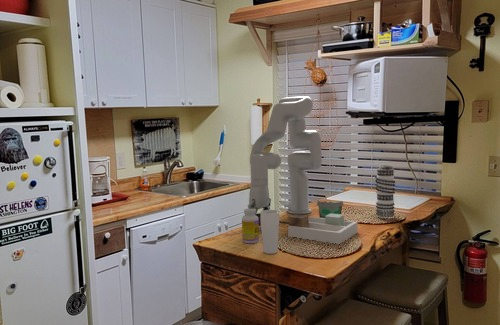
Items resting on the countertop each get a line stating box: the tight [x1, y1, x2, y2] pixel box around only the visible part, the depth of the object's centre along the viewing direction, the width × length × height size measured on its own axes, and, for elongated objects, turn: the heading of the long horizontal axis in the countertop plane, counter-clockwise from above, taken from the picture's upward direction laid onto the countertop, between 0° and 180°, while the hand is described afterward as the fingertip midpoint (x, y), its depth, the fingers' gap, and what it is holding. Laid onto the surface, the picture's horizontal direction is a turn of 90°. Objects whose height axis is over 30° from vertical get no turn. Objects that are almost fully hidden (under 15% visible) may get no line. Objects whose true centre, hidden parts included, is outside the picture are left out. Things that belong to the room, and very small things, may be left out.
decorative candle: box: [374, 164, 396, 218], centre depth 200 cm, size 9×9×25 cm
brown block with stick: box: [257, 212, 309, 228], centre depth 179 cm, size 24×6×6 cm, turn 56°
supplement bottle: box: [241, 208, 260, 244], centre depth 165 cm, size 7×7×13 cm
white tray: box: [287, 216, 359, 245], centre depth 173 cm, size 22×20×4 cm
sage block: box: [325, 213, 345, 226], centre depth 175 cm, size 6×6×6 cm
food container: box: [316, 200, 344, 218], centre depth 192 cm, size 12×6×10 cm, turn 70°
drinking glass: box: [260, 209, 280, 255], centre depth 151 cm, size 7×7×15 cm
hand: (260, 220), depth 184 cm, fingers open, 9 cm apart
